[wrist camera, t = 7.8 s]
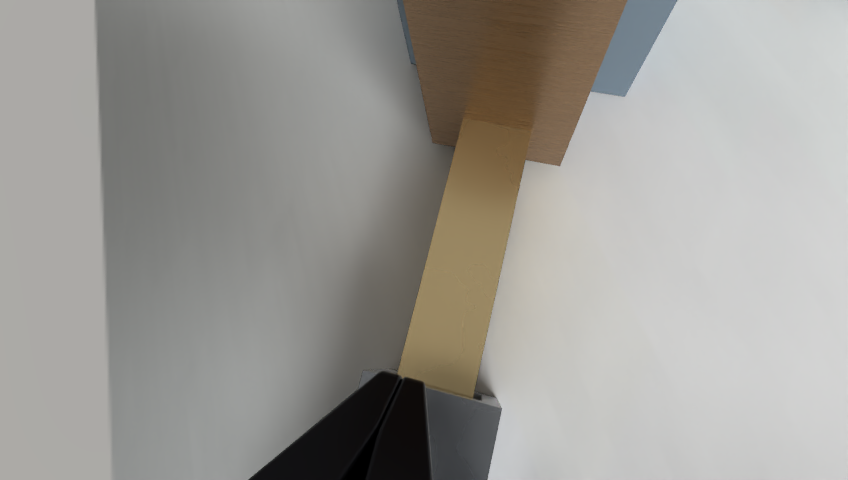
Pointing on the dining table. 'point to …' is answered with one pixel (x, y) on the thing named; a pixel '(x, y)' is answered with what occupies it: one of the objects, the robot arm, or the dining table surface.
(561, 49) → the upright wooden plank
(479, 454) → the outer sleeve
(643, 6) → the blue-grey rectangular block
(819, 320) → the dining table surface
